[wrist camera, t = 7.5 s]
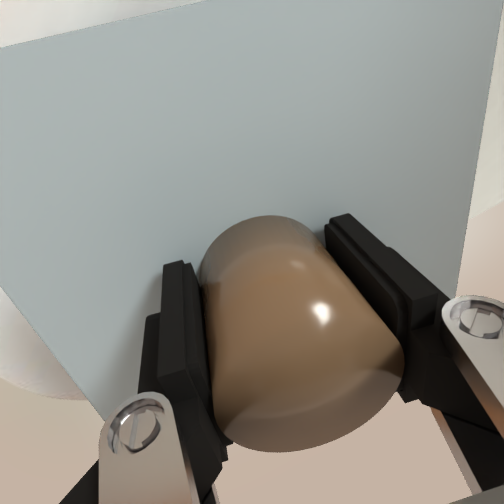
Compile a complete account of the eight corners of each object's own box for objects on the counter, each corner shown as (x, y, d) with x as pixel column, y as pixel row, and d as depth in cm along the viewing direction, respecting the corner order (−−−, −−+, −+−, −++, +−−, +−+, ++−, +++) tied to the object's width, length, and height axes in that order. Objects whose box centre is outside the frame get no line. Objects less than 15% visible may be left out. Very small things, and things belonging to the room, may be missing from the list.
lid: (467, -53, 8) (876, -205, 4) (425, 333, 16) (537, 458, 11) (-105, 79, 8) (-624, 123, 3) (134, 423, 15) (114, 603, 10)
